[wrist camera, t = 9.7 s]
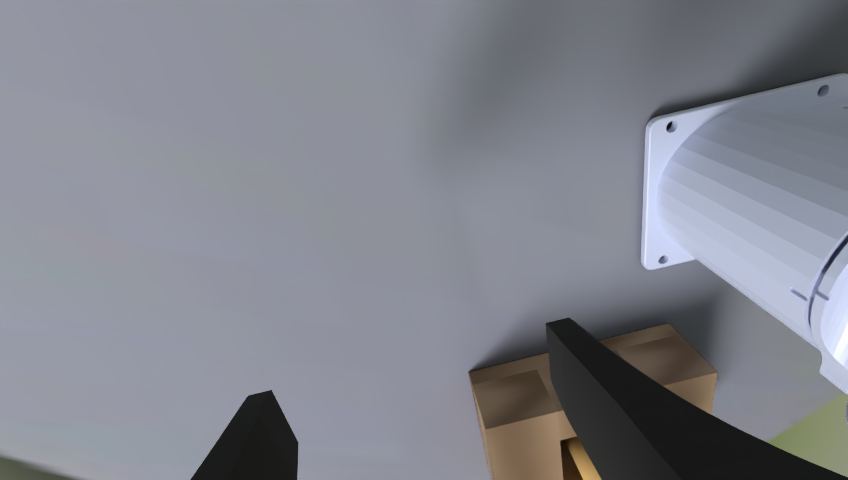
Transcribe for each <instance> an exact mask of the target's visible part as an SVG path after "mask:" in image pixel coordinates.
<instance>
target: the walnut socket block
mask: <svg viewBox="0 0 848 480" xmlns="http://www.w3.org/2000/svg"><path fill="white" fill-rule="evenodd" d="M599 341H600V342H601V343H603V344H604V345H605V346H606V347H608V348H609V349H610V350H612V351H613V352H614V353H616V354H617V355H619V356H620V357H621V358H623V359H624V360H626V361H627V362H628V363H630V364H631V365H633V366H634V367H635V368H637V369H638V370H640V371H641V372H643V373H644V374H646V375H647V376H649V377H650V378H652V379H653V380H655V381H656V382H658V383H659V384H661V385H662V386H664V387H665V388H667V389H669V390H670V391H672V392H673V393H675V394H676V395H678V396H680V397H681V398H683V399H685V400H686V401H688V402H690V403H691V404H693V405H695V406H697V407H698V408H700V409H702V410H704V411H705V412H707V413H709V414H711V413H712V406H713V400H714V393H715V387H716V380H717V374H718V372H717V371H716V370H715V369H714V368H713V367H712V366H711V365H710V364H709V363H708V362H707V361H706V360H705V359H704V358H703V357H702V356H701V355H700V354H699V353H698V352H697V351H696V350H695V349H694V348H693V347H692V346H691V345H690V344H689V343H688V342H687V341H686V340H685V339H684V338H683V337H682V336H681V335H680V334H679V333H678V332H677V331H676V330H675V328H674V327H673V326H672V325H671V324H670V323H667V324H663V325H659V326H655V327H651V328H647V329H643V330H639V331H635V332H631V333H627V334H622V335H618V336H614V337H610V338H606V339H602V340H599ZM469 377H470V382H471V386H472V391H473V396H474V401H475V406H476V410H477V415H478V420H479V425H480V429H481V434H482V439H483V444H484V449H485V453H486V458H487V463H488V468H489V472H490V475H491V479H492V480H583V478H582V476H581V474H580V472H579V470H578V468H577V465H576V463H575V461H574V459H573V457H572V455H571V453H570V451H569V448H568V446H567V444H566V442H565V440H564V439H568V438H572V437H576V436H577V435H576V433H575V432H574V430H573V428H572V426H571V424H570V423H569V421H568V419H567V417H566V415H565V413H564V410H563V408H562V406H561V403H560V401H559V399H558V396H557V394H556V392H555V389H554V387H553V384H552V382H551V376H550V365H549V354H548V353H545V354H541V355H536V356H532V357H528V358H524V359H520V360H516V361H512V362H508V363H504V364H500V365H496V366H491V367H487V368H483V369H479V370H475V371H471V372H469Z"/></svg>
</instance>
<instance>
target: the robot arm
mask: <svg viewBox="0 0 848 480" xmlns="http://www.w3.org/2000/svg"><path fill="white" fill-rule="evenodd" d="M820 88H821V90H820V92H819V93H818V90H819V89H820ZM671 121H672V126H671V127H670V129H668V130H666V127H667V124H668V123H669V122H671ZM663 255H664V256H663ZM661 256H663V258H662V259H660V260H659V258H660V257H661ZM695 259H697V260H698V261H700V262H701V263H702V264H704V265H705V266H706V267H708V268H709V269H710V270H712V271H713V272H714V273H716V274H717V275H718V276H720V277H721V278H723V279H724V280H725V281H727V282H728V283H729V284H731V285H732V286H733V287H735V288H736V289H737V290H739V291H740V292H741V293H743V294H744V295H746V296H747V297H748V298H750V299H751V300H752V301H754V302H755V303H756V304H758V305H759V306H760V307H762V308H763V309H764V310H766V311H767V312H768V313H770V314H771V315H773V316H774V317H775V318H777V319H778V320H779V321H781V322H782V323H783V324H785V325H786V326H787V327H789V328H790V329H791V330H793V331H794V332H796V333H797V334H798V335H800V336H801V337H802V338H804V339H805V340H806V341H808V342H809V343H810V344H812V345H813V346H814V347H816V348H817V349H819V350H820V351H821V353H822V364H821V367H820V373H821V374H822V375H823V376H824V377H826V378H827V379H828V380H829V381H831V382H832V383H833V384H835V385H836V386H837V387H838V388H840V389H841V390H842V391H843V392H845V393H846V394H848V74H846V73H839V74H835V75H831V76H827V77H822V78H818V79H814V80H810V81H806V82H801V83H797V84H793V85H789V86H784V87H780V88H776V89H772V90H767V91H763V92H759V93H755V94H750V95H746V96H742V97H738V98H734V99H729V100H725V101H721V102H717V103H712V104H708V105H704V106H700V107H695V108H691V109H687V110H683V111H678V112H674V113H670V114H666V115H662V116H657V117H655V118H653V119H652V120H650V121H649V123H648V124H647V126H646V135H645V163H644V190H643V218H642V246H641V264H642V265H643V266H644V267H645V268H646V269H648V270H654V269H658V268H662V267H666V266H670V265H674V264H678V263H683V262H687V261H691V260H695ZM546 332H547V343H548V354H549V365H550V376H551V382H552V384H553V387H554V389H555V392H556V394H557V396H558V399H559V401H560V403H561V406H562V408H563V410H564V413H565V415H566V417H567V419H568V421H569V423H570V424H571V426H572V428H573V430H574V432H575V433H576V435H577V437H578V439H579V441H580V442H581V444H582V446H583V448H584V449H585V451H586V453H587V455H588V456H589V458H590V460H591V462H592V464H593V465H594V467H595V469H596V471H597V472H598V474H599V476H600V478H601V479H602V480H848V477H845V476H843V475H840V474H838V473H835V472H833V471H831V470H828V469H826V468H823V467H821V466H818V465H816V464H813V463H811V462H808V461H806V460H804V459H801V458H799V457H797V456H795V455H792V454H790V453H788V452H786V451H784V450H782V449H779V448H777V447H775V446H773V445H771V444H769V443H767V442H765V441H762V440H760V439H758V438H756V437H754V436H752V435H750V434H747V433H745V432H743V431H741V430H739V429H737V428H735V427H733V426H731V425H729V424H727V423H726V422H724V421H722V420H720V419H718V418H716V417H715V416H713V415H711V414H709V413H707V412H705V411H704V410H702V409H700V408H698V407H697V406H695V405H693V404H691V403H690V402H688V401H686V400H685V399H683V398H681V397H680V396H678V395H676V394H675V393H673V392H672V391H670V390H669V389H667V388H665V387H664V386H662V385H661V384H659V383H658V382H656V381H655V380H653V379H652V378H650V377H649V376H647V375H646V374H644V373H643V372H641V371H640V370H638V369H637V368H635V367H634V366H633V365H631V364H630V363H628V362H627V361H626V360H624V359H623V358H621V357H620V356H619V355H617V354H616V353H614V352H613V351H612V350H610V349H609V348H608V347H606V346H605V345H604V344H603V343H601V342H600V341H599V340H597V339H596V338H595V337H593V336H592V335H591V334H590V333H588V332H587V331H586V330H585V329H583V328H582V327H581V326H579V325H578V324H577V323H576V322H574V321H573V320H572V319H570V318H566V319H561V320H557V321H553V322H549V323H546ZM846 421H847V425H848V404H847V408H846ZM297 468H298V441H297V439H296V437H295V435H294V433H293V431H292V430H291V428H290V426H289V424H288V422H287V420H286V418H285V416H284V414H283V412H282V410H281V408H280V406H279V404H278V402H277V400H276V398H275V396H274V394H273V392H272V390H270V391H266V392H262V393H257V394H253V395H249V396H248V397H247V398H246V399H245V401H244V402H243V404H242V405H241V407H240V408H239V410H238V411H237V413H236V414H235V416H234V417H233V419H232V420H231V422H230V423H229V425H228V426H227V428H226V429H225V431H224V432H223V433H222V435H221V436H220V438H219V439H218V441H217V442H216V444H215V445H214V447H213V448H212V450H211V451H210V453H209V454H208V456H207V457H206V458H205V460H204V461H203V463H202V464H201V466H200V467H199V468H198V470H197V471H196V473H195V474H194V476H193V477H192V478H191V480H297Z"/></svg>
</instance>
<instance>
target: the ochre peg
mask: <svg viewBox="0 0 848 480" xmlns="http://www.w3.org/2000/svg"><path fill="white" fill-rule="evenodd" d="M564 440H565V442H566V444H567V446H568V448H569V451H570V453H571V455H572V457H573V459H574V461H575V463H576V465H577V468H578V470H579V472H580V474H581V476H582V478H583V480H602V479H601V478H600V476H599V474H598V472H597V471H596V469H595V467H594V465H593V464H592V462H591V460H590V458H589V456H588V455H587V453H586V451H585V449H584V448H583V446H582V444H581V442H580V441H579V439H578V437H577V436H576V437H572V438H568V439H564Z"/></svg>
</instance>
